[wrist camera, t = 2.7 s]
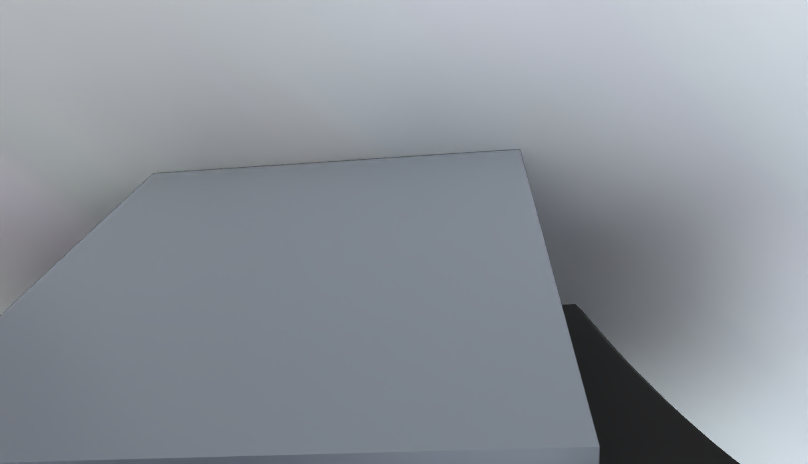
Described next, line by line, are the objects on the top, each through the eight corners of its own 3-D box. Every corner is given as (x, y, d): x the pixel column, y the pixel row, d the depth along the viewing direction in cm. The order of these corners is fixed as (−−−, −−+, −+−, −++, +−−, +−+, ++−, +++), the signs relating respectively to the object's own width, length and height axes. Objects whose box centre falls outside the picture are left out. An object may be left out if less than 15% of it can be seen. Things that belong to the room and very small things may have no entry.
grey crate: (224, 453, 13) (58, 861, 7) (153, 173, 11) (-165, 467, 5) (526, 445, 12) (585, 877, 7) (519, 149, 10) (599, 447, 5)
